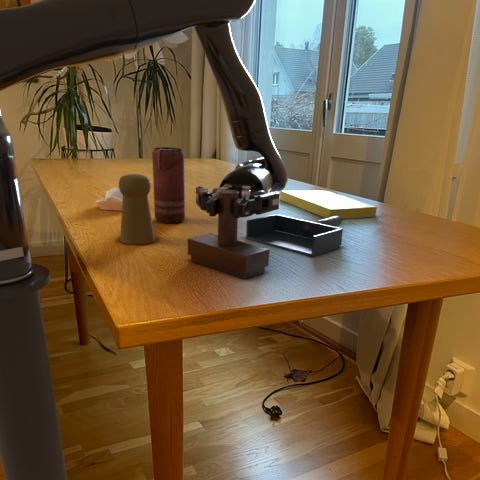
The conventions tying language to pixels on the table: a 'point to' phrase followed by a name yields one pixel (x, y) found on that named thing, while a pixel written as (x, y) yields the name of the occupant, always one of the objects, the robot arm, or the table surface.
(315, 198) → the yellow foam board
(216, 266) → the stamp
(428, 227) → the table surface
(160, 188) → the can
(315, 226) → the dustpan
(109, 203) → the pale pink lumpy piece
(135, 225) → the cork
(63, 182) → the table surface
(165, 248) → the table surface
